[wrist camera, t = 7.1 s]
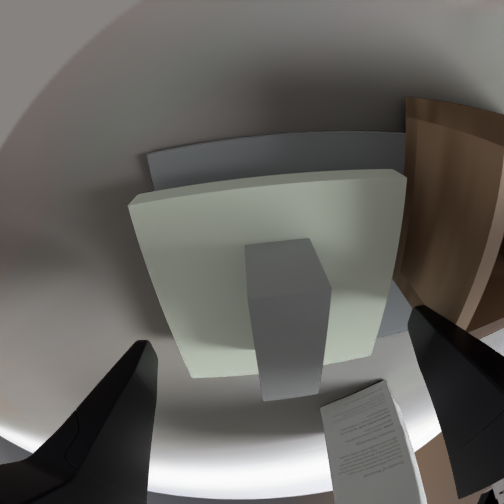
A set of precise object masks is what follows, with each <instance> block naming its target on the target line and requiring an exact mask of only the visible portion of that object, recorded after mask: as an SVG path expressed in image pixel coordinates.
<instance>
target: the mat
mask: <svg viewBox="0 0 504 504" xmlns="http://www.w3.org/2000/svg"><path fill="white" fill-rule="evenodd" d="M405 141H406V133H399V132H377V131H321V132H298V133H282V134H270V135H259V136H249V137H240V138H232V139H224V140H217V141H210V142H204V143H197V144H191V145H186V146H180V147H175V148H170V149H164V150H160V151H155V152H150V153H148V154H147V159H148V164H149V168H150V173H151V178H152V182H153V186H154V191H159V190H165V189H170V188H177V187H183V186H189V185H196V184H203V183H210V182H217V181H225V180H233V179H241V178H250V177H259V176H269V175H280V174H292V173H305V172H320V171H338V170H364V169H393V170H395V171H397V172H398V173H400V174H402V175H404V164H405ZM411 311H412V307H411V306H410V304H409V303H408V301H407V300H406V298H405V297H404V295H403V294H402V292H401V291H400V289H399V288H398V286H397V285H396V284H395V282H394V281H393V279H392V280H391V284H390V289H389V293H388V297H387V301H386V305H385V309H384V313H383V317H382V320H381V324H380V327H379V331H378V334H377V337H376V338H379V337H383V336H387V335H391V334H395V333H399V332H403V331H407V330H408V327H407V324H408V320H409V317H410V314H411Z"/></svg>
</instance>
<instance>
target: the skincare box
mask: <svg viewBox="0 0 504 504" xmlns="http://www.w3.org/2000/svg"><path fill="white" fill-rule="evenodd" d="M320 411H321V417H322V422H323V428H324V434H325V440H326V446H327V452H328V459H329V465H330V472H331V479H332V486H333V492H334V500H335V504H427V500H426V496H425V492H424V488H423V484H422V480H421V476H420V473H419V469H418V465H417V461H416V458H415V454H414V451H413V448H412V445H411V441H410V438H409V435H408V431H407V428H406V425H405V422H404V419H403V416H402V413H401V410H400V407H399V406H398V405H397V404H396V402H395V400H394V398H393V396H392V394H391V392H390V389H389V386H388V384H387V381H381V382H379V383H377V384H374V385H372V386H370V387H368V388H366V389H364V390H362V391H359V392H357V393H355V394H352V395H350V396H347V397H345V398H342V399H340V400H337V401H335V402H332V403H330V404H328V405H325V406H322V407H321V408H320Z"/></svg>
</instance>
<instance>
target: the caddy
mask: <svg viewBox="0 0 504 504" xmlns="http://www.w3.org/2000/svg"><path fill="white" fill-rule="evenodd" d="M405 102H406V141H405V164H404V176H405V177H407V184H406V194H405V203H404V211H403V219H402V226H401V232H400V238H399V244H398V250H397V255H396V261H395V266H394V271H393V275H392V279H393V281H394V282H395V284H396V285H397V286H398V288H399V289H400V291H401V292H402V294H403V295H404V297H405V298H406V300H407V301H408V303H409V304H410V306H411V307H412V309H413V307H414V306H417V305H421V304H424V305H426V306H428V307H429V308H431V309H432V310H434V311H436V312H437V313H439V314H440V315H442V316H443V317H445V318H447V319H448V320H450V321H451V322H453V323H454V324H456V325H457V326H459V327H461V328H462V329H464V330H465V331H467V332H468V333H470V334H471V335H473V336H474V337H476V338H477V339H481V338H483V337H485V336H487V335H489V334H492V333H494V332H496V331H498V330H500V329H502V328H504V115H502V114H498V113H495V112H491V111H487V110H483V109H479V108H474V107H470V106H465V105H460V104H455V103H449V102H443V101H437V100H430V99H422V98H414V97H405Z"/></svg>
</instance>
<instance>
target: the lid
mask: <svg viewBox="0 0 504 504" xmlns="http://www.w3.org/2000/svg"><path fill="white" fill-rule="evenodd" d="M406 184H407V177H405V176H404V175H402V174H400V173H398V172H397V171H395V170H393V169H364V170H338V171H320V172H305V173H292V174H280V175H269V176H259V177H250V178H241V179H233V180H225V181H217V182H210V183H203V184H196V185H189V186H183V187H177V188H170V189H165V190H159V191H153V192H148V193H142V194H138V195H137V196H136V197H135V198H134V199H133V200H132V201H131V202H130V204H129V205H128V209H129V212H130V216H131V219H132V223H133V226H134V229H135V233H136V236H137V239H138V242H139V245H140V249H141V252H142V255H143V258H144V261H145V264H146V267H147V269H148V272H149V275H150V278H151V281H152V284H153V286H154V289H155V292H156V294H157V297H158V300H159V302H160V305H161V307H162V310H163V313H164V315H165V318H166V320H167V322H168V325H169V327H170V330H171V332H172V334H173V337H174V339H175V342H176V344H177V346H178V348H179V351H180V353H181V355H182V357H183V360H184V362H185V364H186V366H187V368H188V370H189V372H190V375H191V377H192V378H209V377H227V376H241V375H253V374H259V379H260V385H261V391H262V398H263V401H272V400H280V399H288V398H295V397H302V396H308V395H314V394H318V392H319V386H320V380H321V374H322V367H323V365H327V364H332V363H338V362H343V361H348V360H353V359H357V358H362V357H367V356H371V353H372V350H373V347H374V344H375V341H376V337H377V334H378V331H379V327H380V324H381V320H382V317H383V313H384V309H385V305H386V301H387V297H388V293H389V289H390V284H391V280H392V275H393V271H394V266H395V261H396V255H397V250H398V244H399V238H400V232H401V226H402V219H403V211H404V203H405V194H406Z"/></svg>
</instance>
